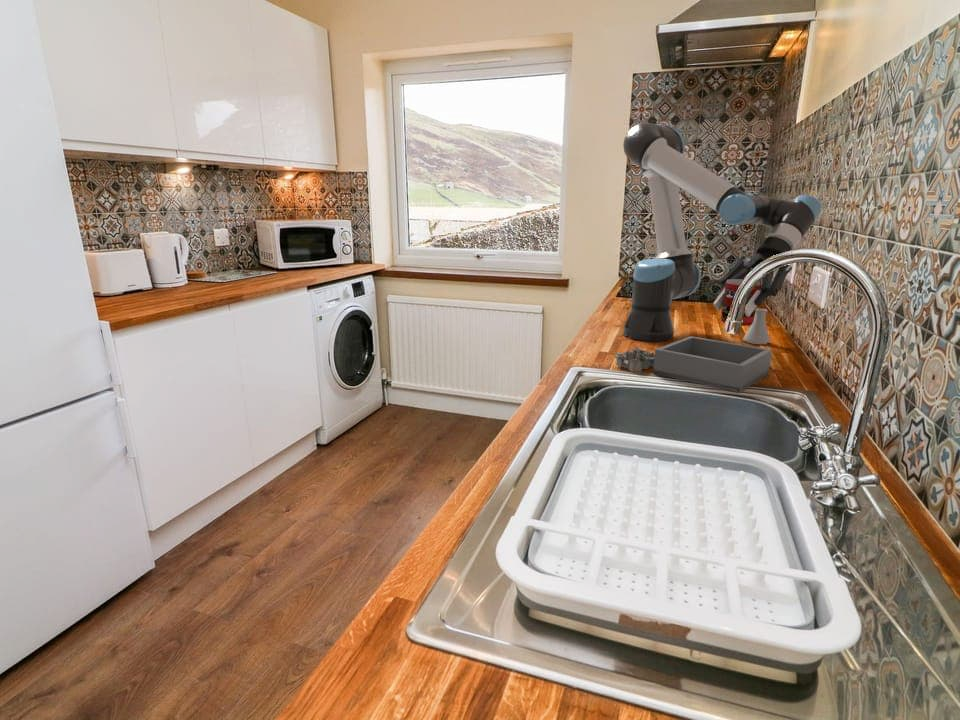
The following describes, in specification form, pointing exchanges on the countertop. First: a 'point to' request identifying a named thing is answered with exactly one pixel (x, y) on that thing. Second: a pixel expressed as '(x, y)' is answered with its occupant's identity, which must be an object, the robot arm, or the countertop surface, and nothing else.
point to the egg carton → (635, 359)
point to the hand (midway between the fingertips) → (730, 309)
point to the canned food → (728, 297)
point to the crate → (712, 363)
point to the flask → (758, 329)
